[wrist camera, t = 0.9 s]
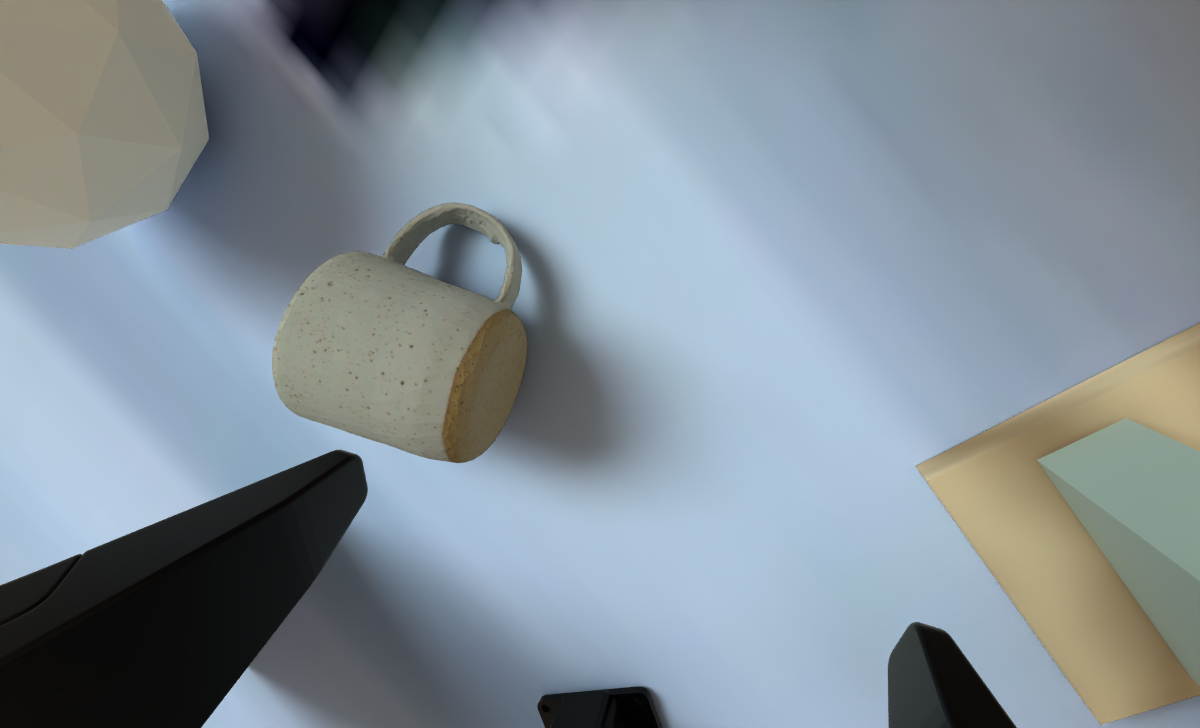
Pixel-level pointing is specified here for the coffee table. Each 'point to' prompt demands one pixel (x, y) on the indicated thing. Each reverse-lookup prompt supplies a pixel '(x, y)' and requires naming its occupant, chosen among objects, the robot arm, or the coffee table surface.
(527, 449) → the coffee table surface
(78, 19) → the geometric shape
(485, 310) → the ceramic mug
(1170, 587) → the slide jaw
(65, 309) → the coffee table surface
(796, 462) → the coffee table surface
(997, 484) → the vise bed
